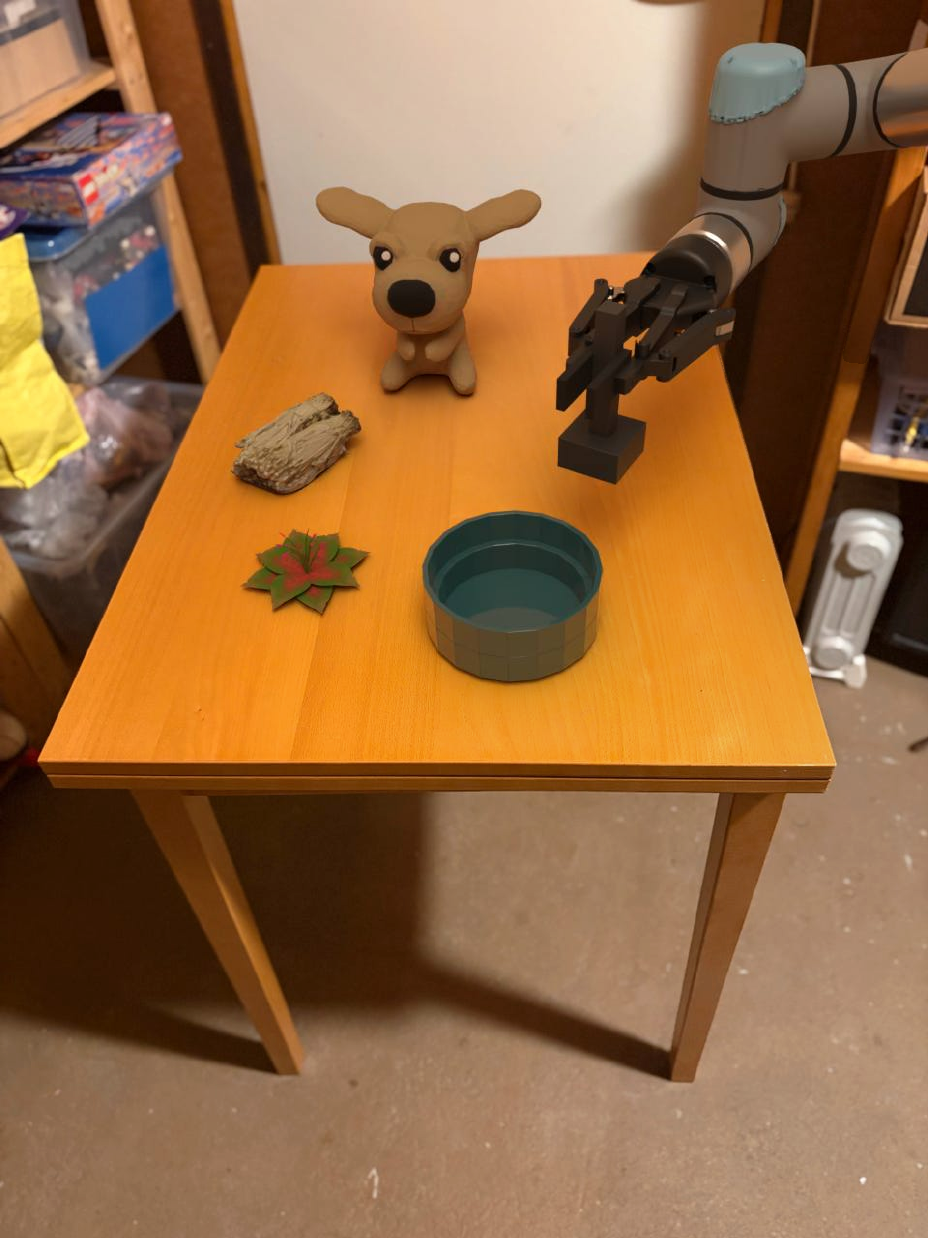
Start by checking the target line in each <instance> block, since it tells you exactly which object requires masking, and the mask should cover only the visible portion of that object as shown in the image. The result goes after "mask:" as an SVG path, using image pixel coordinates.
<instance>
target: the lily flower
mask: <svg viewBox="0 0 928 1238" xmlns="http://www.w3.org/2000/svg"><path fill="white" fill-rule="evenodd" d="M309 531H310V528H307V531H306V533H304V532H302V531H298V530H297V528H296V529H294V528H292V529H291V531H290V533H289V534H288V536H286V535H285V534H283V533H282V532H279V535H281V536H282V537H284V538H285V539H284V540H283V542H282V544H280V543H276V544H275V546H273V547H271V548H268V549H265V550H264V551H262V552H258V553H255V554H254V555H255V556H256V557H257V558H258V559H259V561H260V562H261V563H262V564H263V565H264V567H262V568H259V569H258V570H256V571H255V572H254V573H253V574H252V575H250V577H249V578H248V579H247V581H246V582H245V583H243V584H241V585H240V586H239V588H240V587H242V588H243V587H245V588H254V589H259V590H260V589H261V590H268V591H270V597H271V602H272V606H271V611H274V610H275V609H276V608H278V607H279V606H282V605H283V604H284V603H285V602H288V601H290V600H291V599H293V598H294V597H295V598H296V599H297V600H298V601H300V602H302V603H303V604H304V605H306V606H307V607H310V608H312V609H314V610H317V612H318V613H319V614H321V615H322V614H323V611H324V609H325V607H326V603H328V602H329V600H330V597H331V595H332V593H333V586H343V587H350V586H351V587H355V588H361V585H360V584H358V581H357V579H356V577H355V576H353V575H354V573H353V572H352V570H351V569H352V568H353V567H354V566H355V565H357V564H358V563H359V562H361V561H362V560H363V559H365V556H368V555H369V554H370V555H371V554H372V551H365V550H362V549H360V550H358V549H357V548H353V547H350V546H349V547H345V546H343V547H340V537H339V534H340V532H336V533H329V534H326V535H325V534H322V535H321V534H320V535H318V534H317V533H313V535H312V536H311V535H310V534H309V533H310V532H309Z"/></svg>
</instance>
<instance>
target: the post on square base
mask: <svg viewBox="0 0 928 1238" xmlns="http://www.w3.org/2000/svg"><path fill="white" fill-rule="evenodd" d="M626 312H627V305H625V304H623V303H621V302H619V303H616V302H612V301H608V300H606V301H605V302H604V303H603V304H601V305H600V306H599V307H598V308H597V309H596V315H595V332H594V349H593V366H592V381H593V380H594V379H595V378H596V377H597V376H598V375H599V374H600V372H601V371H602V370H603V369H604V368H605V367H606V366H607V365H608V364H609V363H610V362H611V361H612V360H613V359H614V358H615V357H616V356H617V355H618V354H619V353H620V352H621V351H622V350H623V348H625V343H624V336H625V324H626ZM620 395H621V394H617V395H616V396H615V397H614V398H613V400H612V401H611V402H610V403H609V404H608V405H607V406H606V407H605V408H604V410H603V411H602V412H601V413H600V414H599V415H598V416H597V417H596V418H595V420H594V421H593V420H590V419H586V418H585V408H584V409H583V410H582V411H581V412H580V414H578V415H577V417H575V418H574V420H573V421H572V422H571V423H570V424H569V425H568V427H566V428H565V430H564V431H563V432H562V433H561V434H560V435H559V436H558V438H557V459H556V460H557V462H556V464H557V465H556V466H557V467H558V468H561V469H565V470H567V471H571V472H573V473H577V474H580V475H583V476H586V477H588V478H589V477H590V478H593V479H596V480H599V481H601V482H605V483H609V484H611V485H614V486H616V485H617V484H618V483H619V482H620V481H621V480H622V478H623V477H624V476H625V475H626V473H627V472H628V471H629V469H630V468H632V466H633V464H634V463H635V462H636V461H637V460H638V458H639V457H640V456H641V455H642V453H643V452H644V450H645V442H646V441H645V440H646V432H647V431H646V430H647V421H644V420H640V419H637V418H633V417H629V416H627V415H624V414H619V405H620Z"/></svg>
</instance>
